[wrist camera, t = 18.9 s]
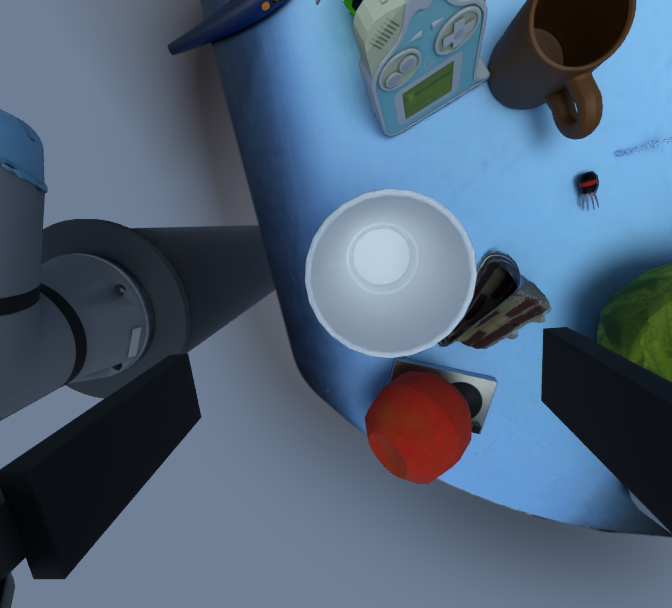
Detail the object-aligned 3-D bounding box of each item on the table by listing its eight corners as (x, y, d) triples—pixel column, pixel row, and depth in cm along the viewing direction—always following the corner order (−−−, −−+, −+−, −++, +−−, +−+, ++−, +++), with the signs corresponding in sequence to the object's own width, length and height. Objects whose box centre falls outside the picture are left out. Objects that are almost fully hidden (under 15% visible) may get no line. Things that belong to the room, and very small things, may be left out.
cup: (434, 306, 40) (474, 357, 25) (332, 308, 42) (309, 360, 26) (435, 198, 38) (481, 182, 22) (326, 205, 39) (297, 193, 23)
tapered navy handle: (181, 73, 37) (164, 54, 35) (176, 48, 38) (158, 27, 36) (315, -7, 33) (305, -34, 31) (305, -33, 34) (295, -61, 32)
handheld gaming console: (535, -89, 19) (491, 80, 34) (510, -127, 20) (477, 56, 34) (357, 39, 22) (387, 144, 36) (338, 4, 22) (375, 122, 37)
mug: (582, 140, 35) (657, 111, 26) (505, 167, 36) (550, 148, 27) (558, 10, 33) (630, -71, 24) (476, 43, 34) (516, -21, 25)
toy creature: (588, 215, 36) (589, 207, 34) (563, 195, 37) (562, 186, 35) (686, 141, 32) (692, 127, 30) (654, 121, 34) (659, 107, 32)
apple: (389, 501, 37) (447, 434, 44) (454, 507, 29) (514, 423, 35) (335, 419, 38) (400, 366, 45) (382, 403, 30) (453, 340, 37)
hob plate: (382, 406, 44) (382, 415, 42) (395, 355, 42) (396, 362, 40) (477, 428, 43) (482, 438, 41) (494, 377, 42) (500, 385, 40)
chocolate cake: (480, 369, 42) (582, 345, 32) (433, 350, 40) (527, 317, 30) (481, 301, 46) (571, 260, 36) (439, 280, 44) (523, 231, 34)
